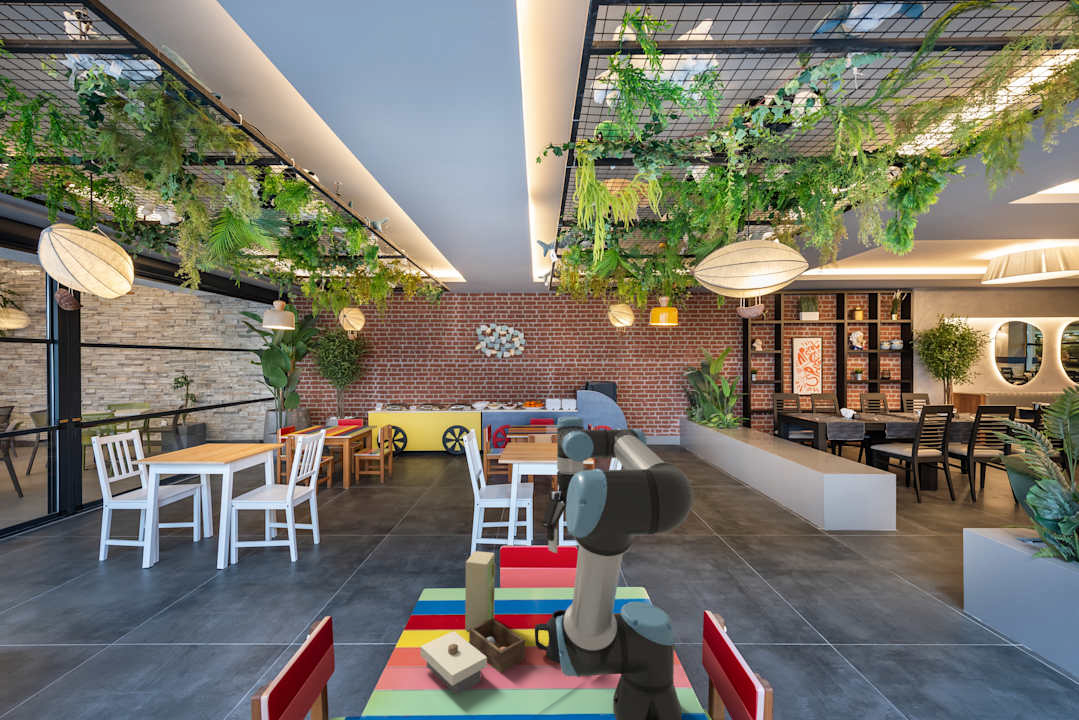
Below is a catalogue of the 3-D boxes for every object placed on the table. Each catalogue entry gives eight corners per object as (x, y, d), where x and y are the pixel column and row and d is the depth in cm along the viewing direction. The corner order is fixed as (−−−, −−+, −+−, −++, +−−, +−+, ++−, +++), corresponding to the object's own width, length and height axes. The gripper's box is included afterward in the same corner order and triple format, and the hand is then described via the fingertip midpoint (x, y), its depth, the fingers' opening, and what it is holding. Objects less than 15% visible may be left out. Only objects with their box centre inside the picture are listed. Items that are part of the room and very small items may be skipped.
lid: (486, 666, 117) (486, 652, 117) (452, 685, 111) (452, 670, 111) (453, 639, 129) (453, 626, 128) (420, 655, 122) (420, 641, 122)
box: (524, 662, 125) (524, 639, 125) (500, 676, 120) (500, 652, 120) (492, 638, 136) (492, 618, 135) (469, 650, 130) (469, 628, 130)
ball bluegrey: (497, 648, 130) (497, 637, 130) (488, 653, 128) (488, 642, 128) (490, 643, 132) (490, 632, 132) (482, 648, 130) (482, 637, 130)
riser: (480, 684, 117) (480, 668, 117) (456, 698, 112) (456, 681, 112) (450, 657, 127) (450, 642, 127) (426, 669, 122) (426, 653, 122)
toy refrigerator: (488, 636, 137) (489, 564, 136) (464, 633, 138) (464, 561, 138) (496, 621, 145) (497, 552, 144) (473, 618, 146) (474, 550, 146)
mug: (576, 645, 133) (577, 605, 132) (581, 667, 124) (581, 624, 123) (534, 646, 132) (534, 606, 132) (535, 668, 123) (535, 625, 123)
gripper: (589, 462, 147) (588, 530, 148) (528, 476, 130) (528, 552, 131) (608, 466, 142) (607, 536, 142) (547, 481, 125) (547, 561, 125)
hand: (569, 544), depth 136 cm, fingers open, 13 cm apart
